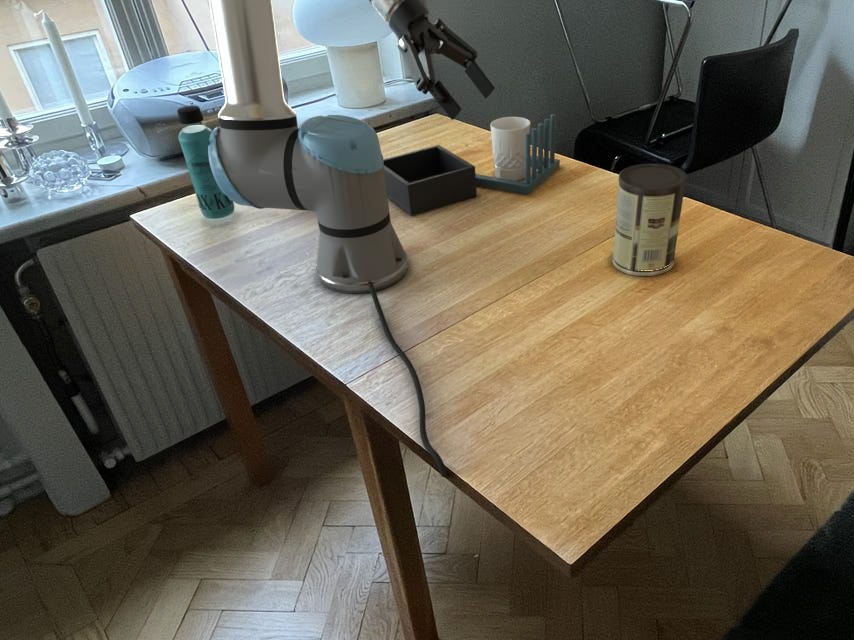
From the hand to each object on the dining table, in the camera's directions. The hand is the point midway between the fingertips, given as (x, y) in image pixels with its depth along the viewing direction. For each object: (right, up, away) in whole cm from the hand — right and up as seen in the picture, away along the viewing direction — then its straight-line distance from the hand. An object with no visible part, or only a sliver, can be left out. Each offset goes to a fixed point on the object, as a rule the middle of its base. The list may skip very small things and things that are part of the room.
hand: (474, 104), depth 143 cm
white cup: (+8, -12, +6) cm, 15 cm away
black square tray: (-9, -17, +1) cm, 20 cm away
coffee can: (+28, -39, -22) cm, 53 cm away
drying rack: (+8, -11, +6) cm, 15 cm away
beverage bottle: (-49, -24, -2) cm, 55 cm away
